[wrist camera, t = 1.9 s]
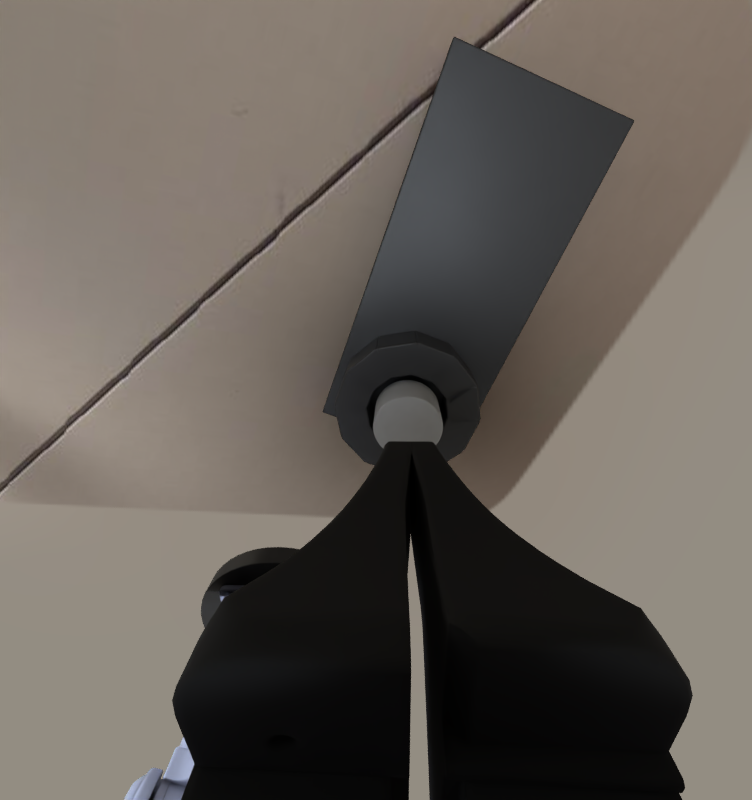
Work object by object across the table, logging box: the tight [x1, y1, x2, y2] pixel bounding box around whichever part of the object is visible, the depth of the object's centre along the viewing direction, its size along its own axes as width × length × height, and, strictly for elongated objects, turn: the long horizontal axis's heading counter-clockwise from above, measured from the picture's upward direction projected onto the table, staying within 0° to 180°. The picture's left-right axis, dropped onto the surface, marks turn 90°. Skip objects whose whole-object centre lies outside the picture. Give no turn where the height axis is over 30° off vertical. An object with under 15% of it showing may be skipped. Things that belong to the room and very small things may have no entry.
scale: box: [323, 37, 634, 465], centre depth 14 cm, size 14×6×3 cm, turn 160°
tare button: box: [373, 380, 443, 449], centre depth 14 cm, size 2×2×2 cm
